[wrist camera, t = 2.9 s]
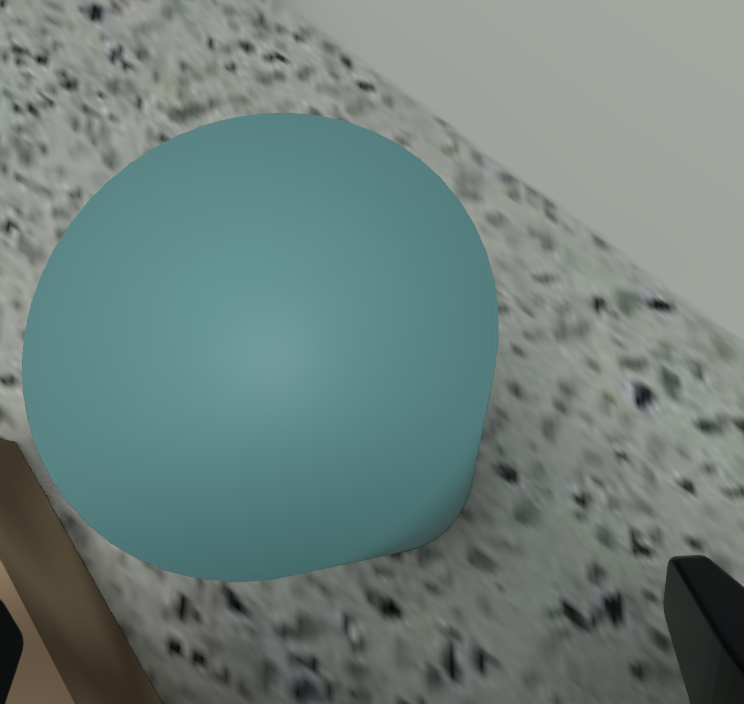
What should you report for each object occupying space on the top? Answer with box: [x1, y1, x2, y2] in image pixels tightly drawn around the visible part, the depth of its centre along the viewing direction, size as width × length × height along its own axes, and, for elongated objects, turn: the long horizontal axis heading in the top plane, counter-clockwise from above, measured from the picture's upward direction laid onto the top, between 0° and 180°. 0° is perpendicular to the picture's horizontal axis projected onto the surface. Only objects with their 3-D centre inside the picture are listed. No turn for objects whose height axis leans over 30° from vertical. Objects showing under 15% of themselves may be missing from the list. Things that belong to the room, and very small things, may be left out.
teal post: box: [22, 113, 498, 582], centre depth 13 cm, size 5×5×13 cm
